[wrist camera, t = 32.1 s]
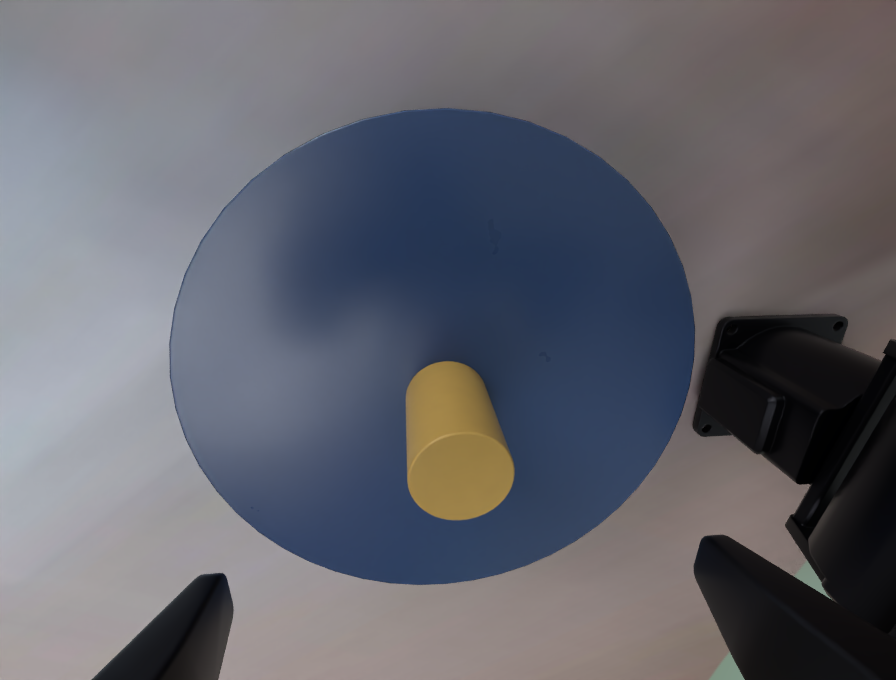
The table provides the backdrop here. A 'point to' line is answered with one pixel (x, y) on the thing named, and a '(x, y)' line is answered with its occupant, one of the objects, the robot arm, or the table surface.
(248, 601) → the table surface
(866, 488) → the robot arm
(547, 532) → the tin lid
